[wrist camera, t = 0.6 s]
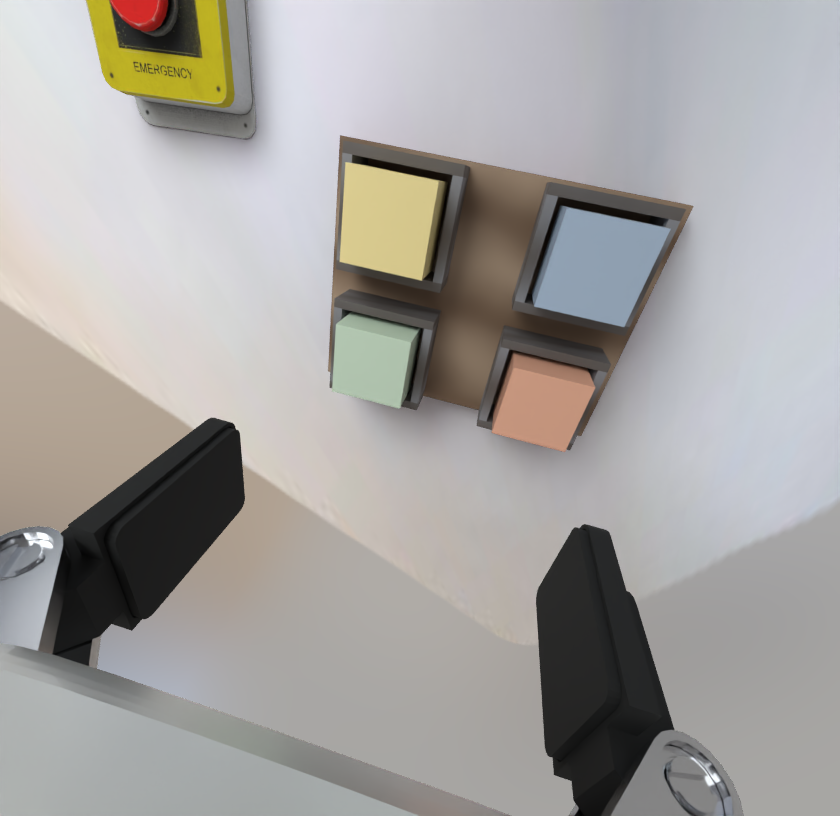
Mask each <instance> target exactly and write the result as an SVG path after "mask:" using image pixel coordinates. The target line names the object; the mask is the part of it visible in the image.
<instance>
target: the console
mask: <svg viewBox="0 0 840 816" xmlns="http://www.w3.org/2000/svg"><path fill="white" fill-rule="evenodd" d="M345 162H348V163H355V164H361V165H367V166H372V167H377V168H382V169H386V170H391V171H396V172H401V173H406V174H411V175H416V176H421V177H425V178H430V179H435V180H440V181H445V182H448V184H447V190H446V195H445V201H444V206H443V212H442V217H441V223H440V228H439V234H438V239H437V244H436V250H435V255H434V261H433V266H432V271H431V272H430V273H429V274H428V275H427V276H426V277H425V278H424V279H423V280H422V281H421V280H417V279H412V278H408V277H404V276H399V275H395V274H391V273H386V272H382V271H378V270H373V269H369V268H365V267H360V266H356V265H351V264H347V263H343V262H340V247H341V230H342V213H343V196H344V179H345ZM560 205H562V206H567V207H571V208H576V209H581V210H586V211H591V212H596V213H601V214H605V215H610V216H615V217H620V218H625V219H630V220H635V221H640V222H644V223H649V224H653V225H657V226H661V227H665V228H669V229H671V230H670V232H669V234H668V236H667V238H666V240H665V242H664V244H663V246H662V248H661V251H660V253H659V255H658V257H657V259H656V261H655V263H654V265H653V267H652V270H651V272H650V274H649V276H648V278H647V280H646V282H645V284H644V286H643V289H642V291H641V293H640V295H639V297H638V299H637V301H636V303H635V305H634V307H633V310H632V312H631V314H630V316H629V318H628V320H627V322H626V324H625V326H624V327H621V326H617V325H612V324H608V323H604V322H599V321H595V320H591V319H586V318H582V317H578V316H573V315H569V314H565V313H560V312H556V311H552V310H547V309H543V308H538V307H534V303H533V298H532V290H533V287H534V284H535V281H536V278H537V275H538V271H539V268H540V265H541V262H542V259H543V256H544V253H545V250H546V247H547V244H548V241H549V238H550V235H551V231H552V228H553V225H554V222H555V219H556V216H557V213H558V210H559V207H560ZM692 208H693V206H691V205H686V204H681V203H676V202H671V201H666V200H661V199H656V198H651V197H646V196H641V195H636V194H631V193H626V192H621V191H616V190H611V189H606V188H601V187H596V186H591V185H586V184H581V183H576V182H571V181H566V180H561V179H556V178H551V177H546V176H541V175H536V174H531V173H526V172H521V171H516V170H511V169H506V168H501V167H496V166H491V165H486V164H481V163H476V162H471V161H466V160H461V159H456V158H451V157H446V156H441V155H436V154H431V153H426V152H421V151H416V150H411V149H406V148H401V147H396V146H391V145H386V144H381V143H376V142H371V141H366V140H361V139H356V138H350V137H345V136H340V149H339V169H338V188H337V208H336V228H335V247H334V267H333V286H332V306H331V326H330V345H329V365H328V371H329V372H330V388H332V384H333V367H334V350H335V332H336V324H337V323H338V322H339V321H341V320H342V319H343V318H344V317H346V316H347V315H348V314H350V313H351V312H352V311H353V312H357V313H362V314H366V315H370V316H374V317H378V318H382V319H387V320H391V321H395V322H399V323H403V324H407V325H411V326H416V327H420V328H421V332H420V338H419V343H418V349H417V354H416V360H415V365H414V371H413V376H412V382H411V387H410V390H409V392H408V394H407V396H406V398H405V400H404V402H403V404H402V405H401V406H402V407H406V408H410V409H414V410H417V408H418V406H419V403H420V401H421V399H422V396H426V397H430V398H434V399H438V400H442V401H446V402H450V403H454V404H457V405H461V406H465V407H469V408H473V409H477V410H479V414H478V420H477V426H479V427H483V428H487V429H491V430H492V424H493V412H494V407H495V404H496V401H497V398H498V395H499V391H500V388H501V385H502V382H503V379H504V376H505V373H506V370H507V367H508V364H509V361H510V358H511V355H512V351H513V350H515V351H519V352H523V353H528V354H532V355H536V356H540V357H544V358H548V359H552V360H557V361H561V362H565V363H569V364H573V365H577V366H581V367H586V368H587V369H588V371H589V373H590V376H591V378H592V381H593V383H594V385H595V390H594V392H593V394H592V396H591V398H590V400H589V402H588V404H587V406H586V409H585V411H584V413H583V415H582V417H581V419H580V421H579V423H578V425H577V428H576V430H575V432H574V434H573V436H572V438H571V440H570V442H569V444H568V447H567V450H570V449H571V447H572V445H573V443H574V441H575V439H576V437H577V435H578V436H581V435H582V433H583V431H584V429H585V427H586V425H587V423H588V421H589V419H590V417H591V415H592V413H593V411H594V409H595V407H596V405H597V402H598V400H599V398H600V396H601V394H602V392H603V390H604V388H605V386H606V384H607V382H608V380H609V378H610V376H611V374H612V372H613V370H614V368H615V366H616V364H617V362H618V360H619V358H620V355H621V353H622V351H623V349H624V347H625V345H626V343H627V341H628V339H629V337H630V335H631V333H632V331H633V329H634V327H635V325H636V323H637V321H638V319H639V317H640V315H641V313H642V311H643V309H644V306H645V304H646V302H647V300H648V298H649V296H650V294H651V292H652V290H653V288H654V286H655V284H656V282H657V280H658V278H659V276H660V274H661V272H662V270H663V268H664V266H665V264H666V262H667V259H668V257H669V255H670V253H671V251H672V249H673V247H674V245H675V243H676V241H677V239H678V237H679V235H680V233H681V231H682V229H683V227H684V225H685V223H686V221H687V219H688V217H689V215H690V212H691V210H692Z"/></svg>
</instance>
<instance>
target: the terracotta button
mask: <svg viewBox="0 0 840 816" xmlns="http://www.w3.org/2000/svg"><path fill="white" fill-rule="evenodd" d="M594 390H595V385H594V383H593V381H592V378H591V376H590V373H589V371H588V369H587V368H586V367H581V366H577V365H573V364H569V363H565V362H561V361H557V360H552V359H548V358H544V357H540V356H536V355H532V354H528V353H523V352H519V351H515V350H513V351H512V355H511V358H510V361H509V364H508V367H507V370H506V373H505V376H504V379H503V382H502V385H501V388H500V391H499V395H498V398H497V401H496V404H495V407H494V412H493V424H492V433H494V434H498V435H502V436H506V437H509V438H513V439H517V440H521V441H525V442H528V443H532V444H536V445H540V446H544V447H548V448H551V449H555V450H559V451H563V452H565V451H566V449H567V447H568V444H569V442H570V440H571V438H572V436H573V434H574V432H575V430H576V428H577V425H578V423H579V421H580V419H581V417H582V415H583V413H584V411H585V409H586V406H587V404H588V402H589V400H590V398H591V396H592V394H593V392H594Z"/></svg>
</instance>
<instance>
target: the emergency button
mask: <svg viewBox="0 0 840 816" xmlns="http://www.w3.org/2000/svg"><path fill="white" fill-rule="evenodd" d="M86 3H87V8H88V12H89V16H90V21H91V25H92V29H93V34H94V38H95V42H96V47H97V51H98V55H99V60H100V64H101V69H102V73H103V75H104V77H105V80H106V82H107V83H108V84H109V85H110V86H111V87H112V88H114V89H116V90H118V91H121V92H123V93H125V94H128V95H132V96H135V99H136V103H137V107H138V109H139V112H140V114H141V116H142V117H143V118H144V120H145V121H146V122H148V123H150V124H151V125H156V126H163V127H169V128H176V129H182V130H189V131H196V132H202V133H209V134H216V135H222V136H229V137H236V138H242V139H247V138H251V137H252V135H253V134H254V132H255V128H256V113H255V100H254V86H253V73H252V60H251V46H250V33H249V20H248V6H247V0H86Z"/></svg>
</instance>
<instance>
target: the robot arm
mask: <svg viewBox="0 0 840 816" xmlns="http://www.w3.org/2000/svg"><path fill="white" fill-rule="evenodd" d="M244 501H245V494H244V481H243V468H242V456H241V443H240V433H239V431H238V430H236V428H235V425H234V424H233V423H230V422H227V421H223V420H220V419H216V418H210V419H208V420H206V421H205V422H204V423H202V424H201V425H200V426H198V427H197V428H196V429H194V430H193V431H192V432H190V433H189V434H188V435H187V436H185V437H184V438H182V439H181V440H180V441H179V442H177V443H176V444H175V445H173V446H172V447H171V448H169V449H168V450H167V451H165V452H164V453H163V454H161V455H160V456H159V457H157V458H156V459H155V460H153V461H152V462H151V463H149V464H148V465H147V466H145V467H144V468H143V469H141V470H140V471H139V472H138V473H136V474H135V475H134V476H132V477H131V478H130V479H128V480H127V481H126V482H124V483H123V484H122V485H120V486H119V487H118V488H116V489H115V490H114V491H113V492H111V493H110V494H108V495H107V496H106V497H105V498H103V499H102V500H101V501H99V502H98V503H97V504H95V505H94V506H93V507H91V508H90V509H89V510H87V511H86V512H85V513H84V514H82V515H81V516H79V517H78V518H77V519H76V520H74V521H73V522H71V523H70V524H69V525H68V526H69V527H68V528H67V529H66V530H64V531H63V532H62V533H60V532H59V531H57V530H55V529H53V528H50V527H40V526H37V527H28V528H23V529H19V530H15V531H12V532H9V533H7V534H4V535H2V536H0V816H510V815H508V814H505V813H502V812H500V811H497V810H494V809H492V808H489V807H486V806H484V805H481V804H479V803H476V802H474V801H471V800H468V799H465V798H463V797H460V796H457V795H454V794H451V793H449V792H446V791H443V790H440V789H437V788H435V787H432V786H429V785H426V784H424V783H421V782H418V781H415V780H412V779H410V778H407V777H404V776H401V775H398V774H395V773H393V772H390V771H387V770H385V769H382V768H379V767H376V766H373V765H371V764H368V763H365V762H362V761H360V760H356V759H354V758H351V757H348V756H345V755H343V754H340V753H337V752H334V751H331V750H328V749H325V748H323V747H320V746H317V745H314V744H312V743H308V742H306V741H303V740H300V739H297V738H294V737H291V736H289V735H286V734H283V733H280V732H278V731H275V730H272V729H269V728H266V727H263V726H260V725H258V724H255V723H252V722H249V721H246V720H244V719H241V718H238V717H235V716H232V715H229V714H226V713H224V712H221V711H218V710H215V709H212V708H209V707H206V706H203V705H201V704H198V703H195V702H192V701H189V700H186V699H183V698H181V697H178V696H175V695H172V694H169V693H166V692H163V691H160V690H158V689H155V688H152V687H149V686H146V685H143V684H140V683H137V682H135V681H132V680H129V679H126V678H123V677H120V676H117V675H114V674H111V673H108V672H105V671H102V670H99V669H97V664H98V656H99V648H100V640H101V634H102V633H103V632H104V631H105V630H106V629H107V628H108V627H109V626H110V625H111V624H114V625H117V626H120V627H123V628H126V629H129V630H133V629H134V628H135V627H136V625H137V624H138V623H139V622H140V620H142V619H147V618H149V617H150V616H151V615H152V614H153V613H154V612H155V611H156V610H157V609H158V607H159V606H160V605H161V604H162V603H163V602H164V600H165V599H166V598H167V597H168V596H169V594H170V593H171V592H172V591H173V590H174V589H175V587H176V586H177V585H178V584H179V583H180V581H181V580H182V579H183V578H184V577H185V575H186V574H187V573H188V572H189V571H190V569H191V568H192V567H193V566H194V565H195V564H196V562H197V561H198V560H199V559H200V558H201V556H202V555H203V554H204V553H205V552H206V551H207V549H208V548H209V547H210V546H211V545H212V544H213V542H214V541H215V540H216V539H217V537H218V536H219V535H220V534H221V533H222V532H223V530H224V529H225V528H226V527H227V526H228V524H229V523H230V522H231V521H232V520H233V519H234V517H235V516H236V515H237V514H238V513H239V511H240V510H241V509H242V507H243V504H244ZM536 607H537V624H538V640H539V657H540V673H541V690H542V707H543V723H544V739H545V749H546V753H547V755H548V756H549V757H553V768H554V775H556V776H559V777H562V778H565V779H568V780H570V781H572V789H573V799H574V801H575V803H576V805H575V806H574V808H573V809H572V811H571V813H570V814H569V816H744V815H743V810H742V806H741V801H740V798H739V796H738V794H737V791H736V789H735V787H734V784H733V783H732V781H731V779H730V778H729V776H728V774H727V773H726V771H725V770H724V768H723V766H722V765H721V764H720V763H719V762H718V760H717V759H716V758H715V757H714V756H713V755H712V753H711V752H710V751H709V750H708V749H706V748H705V747H704V746H703V745H702V744H701V743H699V742H698V741H697V740H696V739H694V738H692V737H690V736H689V735H687V734H685V733H683V732H679V731H675V730H674V727H673V724H672V721H671V717H670V714H669V711H668V707H667V704H666V701H665V697H664V694H663V691H662V687H661V684H660V681H659V677H658V674H657V671H656V667H655V664H654V661H653V658H652V654H651V651H650V648H649V644H648V641H647V638H646V634H645V631H644V628H643V625H642V621H641V618H640V615H639V611H638V608H637V605H636V602H635V600H634V597H633V596H632V595H631V594H630V592H627V591H626V588H625V585H624V581H623V578H622V574H621V571H620V567H619V564H618V560H617V557H616V553H615V550H614V546H613V543H612V539H611V536H610V533H609V532H608V531H607V530H604V529H600V528H597V527H593V526H590V525H586V524H584V525H582V526H581V527H580V528H574V529H573V530H572V532H571V533H570V535H569V537H568V538H567V540H566V542H565V544H564V545H563V547H562V549H561V550H560V552H559V554H558V556H557V557H556V559H555V561H554V562H553V564H552V566H551V567H550V569H549V571H548V573H547V574H546V576H545V578H544V579H543V581H542V583H541V585H540V586H539V588H538V591H537V597H536Z"/></svg>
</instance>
